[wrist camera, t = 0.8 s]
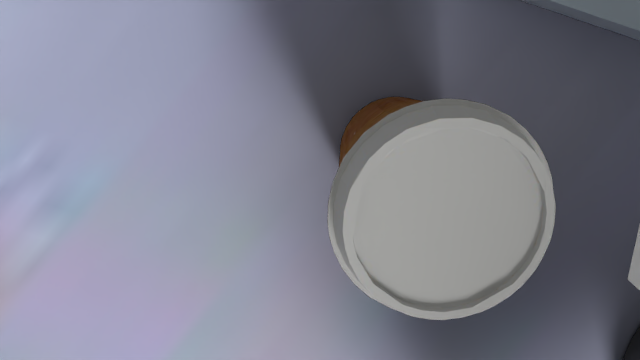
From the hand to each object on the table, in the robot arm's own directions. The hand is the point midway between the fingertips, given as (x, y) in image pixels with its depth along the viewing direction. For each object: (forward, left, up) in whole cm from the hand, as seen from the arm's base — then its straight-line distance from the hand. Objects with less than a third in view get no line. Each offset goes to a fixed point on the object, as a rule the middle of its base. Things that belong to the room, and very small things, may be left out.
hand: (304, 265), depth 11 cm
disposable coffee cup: (-7, +2, -25) cm, 26 cm away
